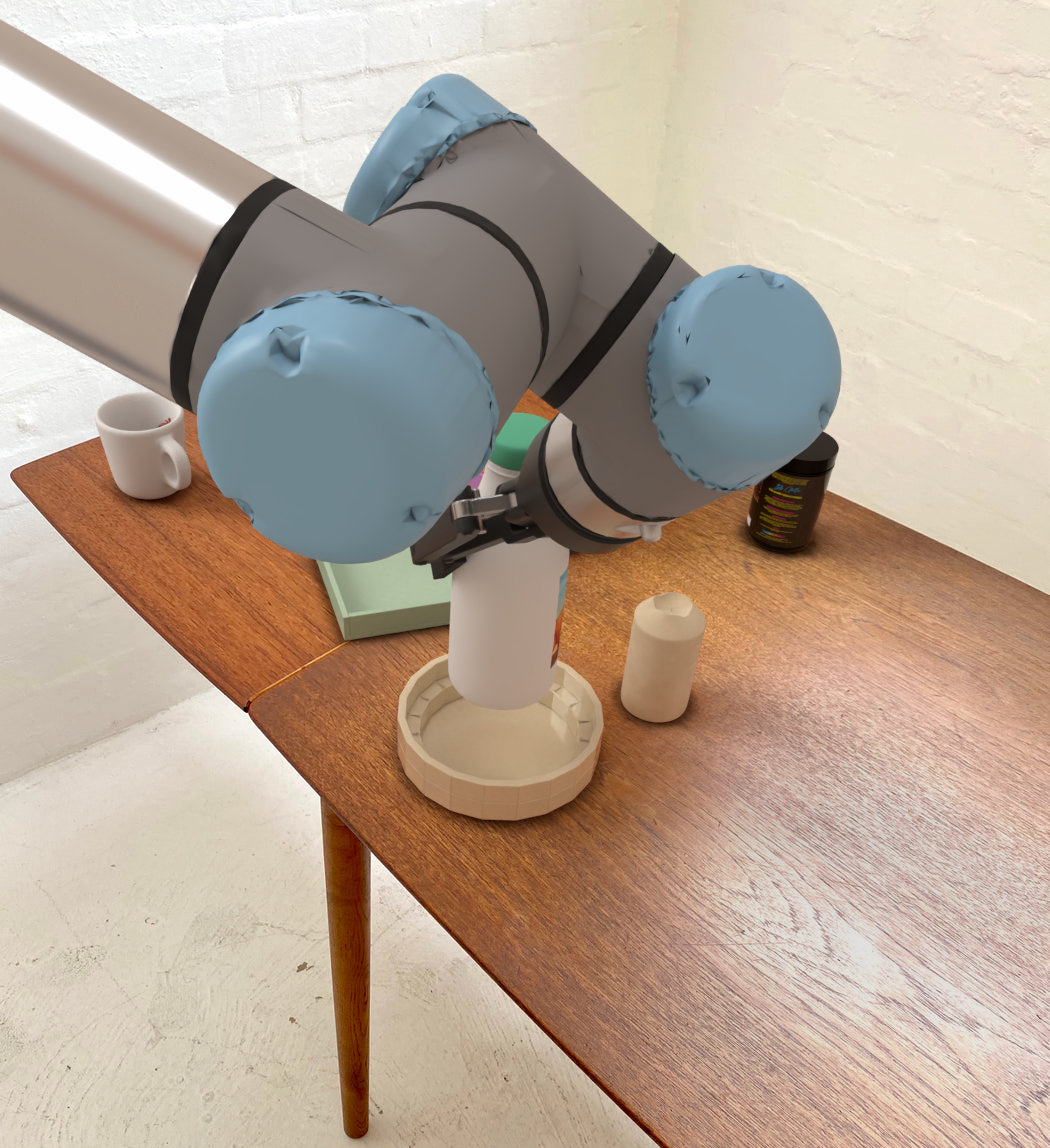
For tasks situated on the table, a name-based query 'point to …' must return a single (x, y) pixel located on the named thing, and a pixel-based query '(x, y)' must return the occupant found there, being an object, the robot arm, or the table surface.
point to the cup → (144, 444)
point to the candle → (662, 657)
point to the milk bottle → (508, 599)
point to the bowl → (498, 745)
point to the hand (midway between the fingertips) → (493, 551)
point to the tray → (386, 596)
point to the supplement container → (792, 499)
